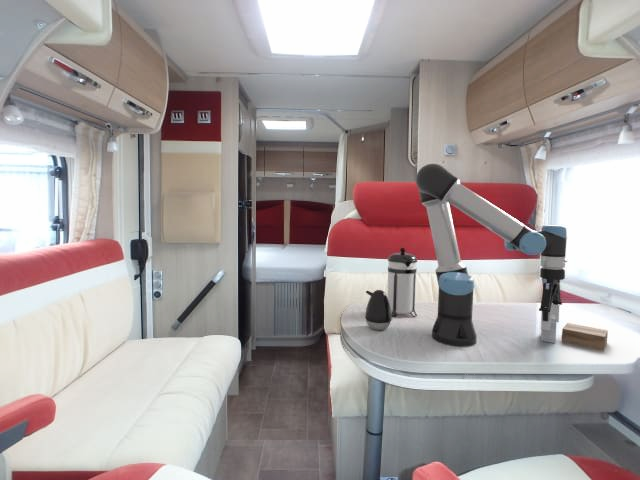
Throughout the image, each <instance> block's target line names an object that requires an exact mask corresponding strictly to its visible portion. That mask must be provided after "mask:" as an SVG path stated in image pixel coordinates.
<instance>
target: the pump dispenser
mask: <svg viewBox="0 0 640 480" xmlns="http://www.w3.org/2000/svg"><path fill="white" fill-rule="evenodd" d="M365 293H366V294H367V295H368V296H370V297H369V298H368V302H367V305H366V308H365V309H366V310H365V316H364V317H365V321H366V325H367V326H368V327H369V328H370V329H372V330H374V329H375V330H374V331H383V330H386V329H387V328H388V327H389V326H390V325H391V322H392V319H393V317H392V312H391V308H390V304H389V300H388V298H387V297H388V294H386V292H385V291H384V290H382V289H376V290H374V291H373V292H371V291H369V290H366V291H365Z"/></svg>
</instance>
